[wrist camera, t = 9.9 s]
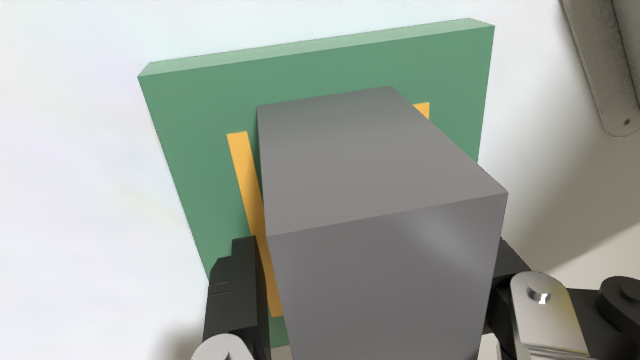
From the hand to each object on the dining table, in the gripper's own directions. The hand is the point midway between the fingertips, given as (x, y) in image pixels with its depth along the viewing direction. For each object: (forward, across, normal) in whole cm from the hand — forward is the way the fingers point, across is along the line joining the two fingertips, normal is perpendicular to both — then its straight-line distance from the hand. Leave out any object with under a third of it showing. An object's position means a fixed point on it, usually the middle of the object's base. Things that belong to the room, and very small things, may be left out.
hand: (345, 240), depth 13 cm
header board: (+2, 0, 0) cm, 2 cm away
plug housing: (+1, 0, 0) cm, 1 cm away
